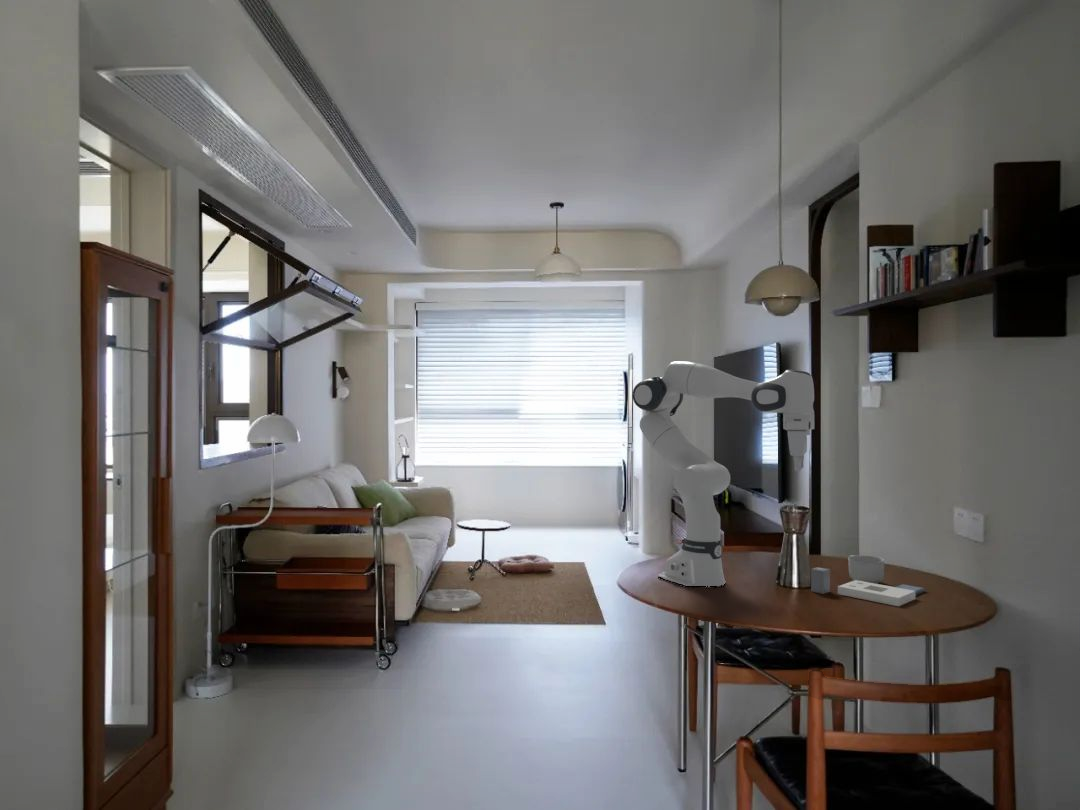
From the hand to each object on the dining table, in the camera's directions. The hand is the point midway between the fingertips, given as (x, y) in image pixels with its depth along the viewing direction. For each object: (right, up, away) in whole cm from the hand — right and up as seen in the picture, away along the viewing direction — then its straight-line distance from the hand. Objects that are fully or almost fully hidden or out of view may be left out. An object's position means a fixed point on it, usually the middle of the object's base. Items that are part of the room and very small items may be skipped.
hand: (799, 469), depth 212 cm
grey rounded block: (+29, -39, +21) cm, 53 cm away
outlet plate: (+24, -39, +2) cm, 46 cm away
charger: (+10, -39, +8) cm, 41 cm away
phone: (+36, -39, +7) cm, 53 cm away
